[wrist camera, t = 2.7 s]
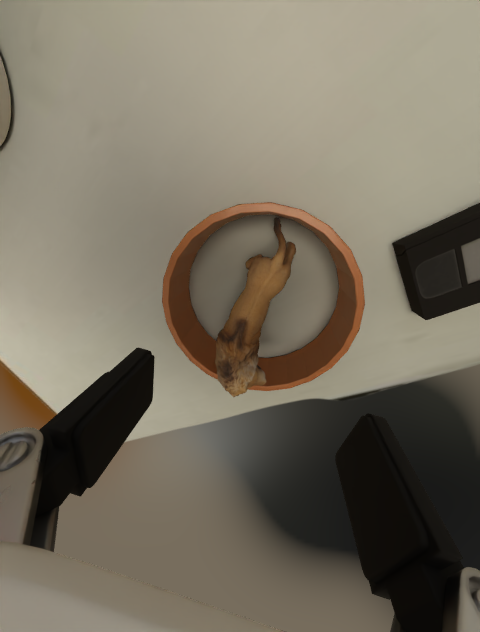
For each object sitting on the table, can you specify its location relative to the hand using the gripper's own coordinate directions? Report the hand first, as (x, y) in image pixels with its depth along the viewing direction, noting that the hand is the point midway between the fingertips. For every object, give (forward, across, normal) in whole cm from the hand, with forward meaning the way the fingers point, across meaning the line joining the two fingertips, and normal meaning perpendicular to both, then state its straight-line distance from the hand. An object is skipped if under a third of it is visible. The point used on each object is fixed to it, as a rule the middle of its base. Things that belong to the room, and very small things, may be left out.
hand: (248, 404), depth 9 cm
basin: (+15, +1, 0) cm, 15 cm away
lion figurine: (+15, +1, 0) cm, 15 cm away
